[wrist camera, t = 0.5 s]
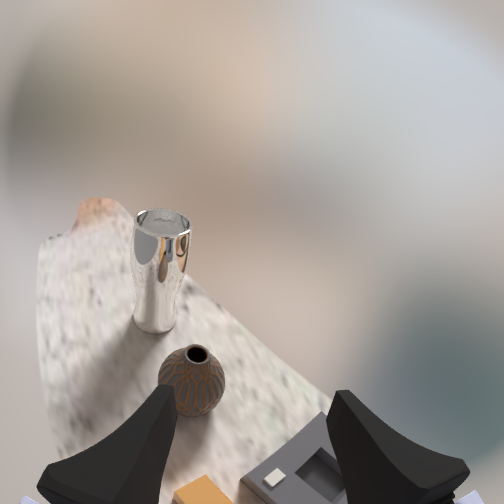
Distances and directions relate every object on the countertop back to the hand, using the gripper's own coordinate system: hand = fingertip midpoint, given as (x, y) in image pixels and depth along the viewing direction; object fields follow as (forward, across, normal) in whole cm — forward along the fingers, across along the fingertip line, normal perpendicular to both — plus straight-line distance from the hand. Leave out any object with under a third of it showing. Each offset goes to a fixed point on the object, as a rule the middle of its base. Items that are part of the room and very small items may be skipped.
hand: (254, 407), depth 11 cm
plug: (+2, +3, +18) cm, 18 cm away
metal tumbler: (+25, +12, +10) cm, 29 cm away
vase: (+14, +6, +14) cm, 21 cm away
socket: (+6, -9, +19) cm, 22 cm away
